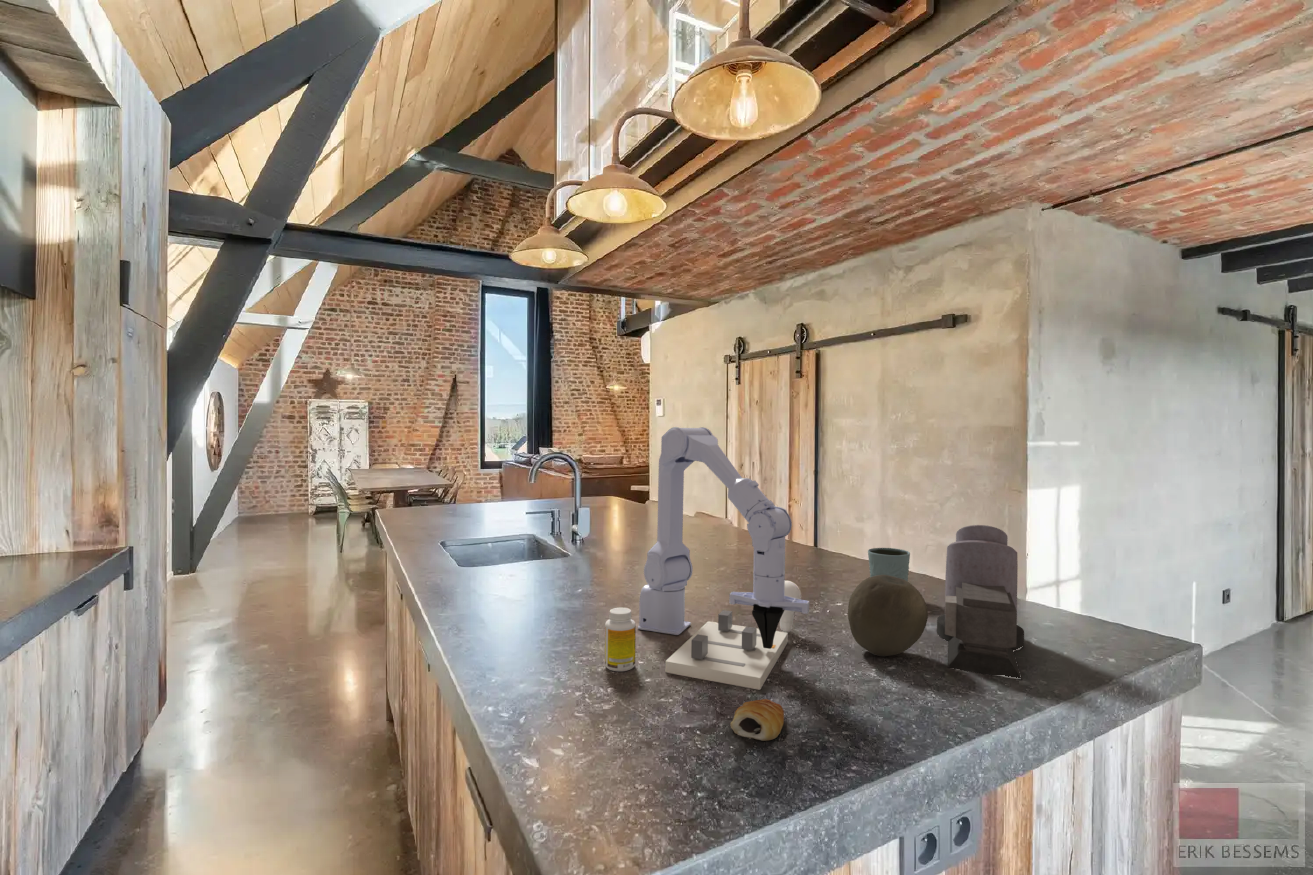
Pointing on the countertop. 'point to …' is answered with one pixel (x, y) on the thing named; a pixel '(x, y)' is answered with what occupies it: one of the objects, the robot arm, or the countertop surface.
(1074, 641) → the countertop surface
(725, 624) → the block
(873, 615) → the cantaloupe
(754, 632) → the block
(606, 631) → the supplement bottle
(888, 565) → the drinking glass
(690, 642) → the breaker panel
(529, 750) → the countertop surface
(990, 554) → the juicer
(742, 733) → the pastry
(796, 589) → the lightbulb
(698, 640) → the block
